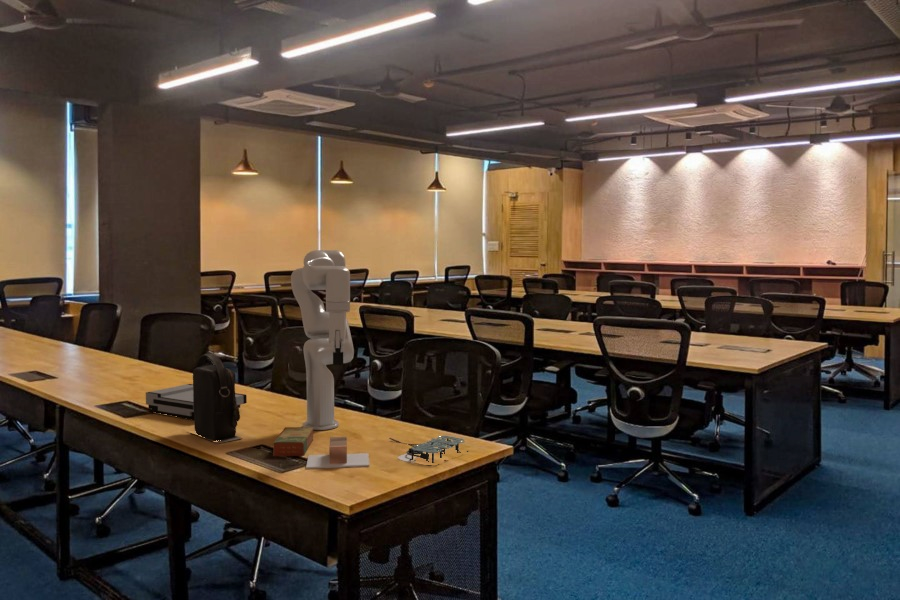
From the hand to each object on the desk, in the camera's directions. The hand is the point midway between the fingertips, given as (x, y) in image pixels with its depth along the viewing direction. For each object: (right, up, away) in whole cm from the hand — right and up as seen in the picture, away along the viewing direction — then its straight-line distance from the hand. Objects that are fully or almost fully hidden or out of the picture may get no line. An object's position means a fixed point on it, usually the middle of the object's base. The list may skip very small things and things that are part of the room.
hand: (338, 364), depth 228 cm
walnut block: (+1, -24, -8) cm, 25 cm away
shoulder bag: (-44, -26, +15) cm, 53 cm away
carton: (-14, -27, 0) cm, 30 cm away
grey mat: (+2, -27, -15) cm, 32 cm away
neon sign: (+25, -27, -4) cm, 37 cm away
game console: (-62, -23, +49) cm, 83 cm away
